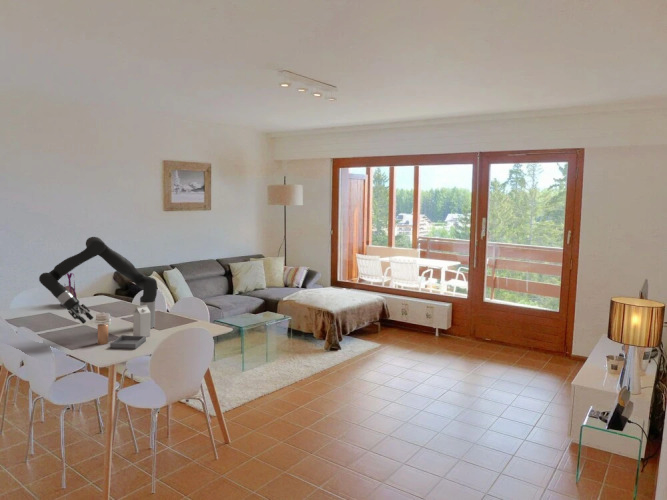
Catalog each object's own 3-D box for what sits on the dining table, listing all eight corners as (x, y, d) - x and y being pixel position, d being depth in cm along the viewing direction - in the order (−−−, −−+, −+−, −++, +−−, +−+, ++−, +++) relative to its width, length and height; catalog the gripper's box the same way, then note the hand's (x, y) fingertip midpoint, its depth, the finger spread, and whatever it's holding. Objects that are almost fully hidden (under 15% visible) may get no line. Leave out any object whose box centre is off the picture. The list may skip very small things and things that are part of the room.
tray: (121, 340, 289) (122, 335, 289) (145, 341, 289) (145, 336, 289) (110, 348, 273) (110, 343, 273) (135, 349, 273) (135, 344, 273)
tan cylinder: (100, 341, 284) (100, 323, 283) (110, 342, 284) (110, 323, 283) (95, 344, 279) (95, 325, 278) (105, 344, 279) (105, 325, 278)
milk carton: (133, 336, 298) (133, 305, 296) (143, 333, 304) (143, 303, 302) (140, 338, 294) (140, 307, 292) (150, 336, 300) (150, 305, 298)
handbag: (82, 307, 365) (82, 274, 363) (68, 309, 358) (68, 275, 355) (71, 302, 379) (71, 270, 377) (57, 304, 372) (57, 272, 369)
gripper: (66, 298, 272) (87, 319, 273) (79, 293, 286) (98, 313, 287) (56, 307, 272) (77, 328, 273) (70, 302, 286) (89, 322, 288)
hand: (88, 320), depth 280 cm, fingers open, 8 cm apart
